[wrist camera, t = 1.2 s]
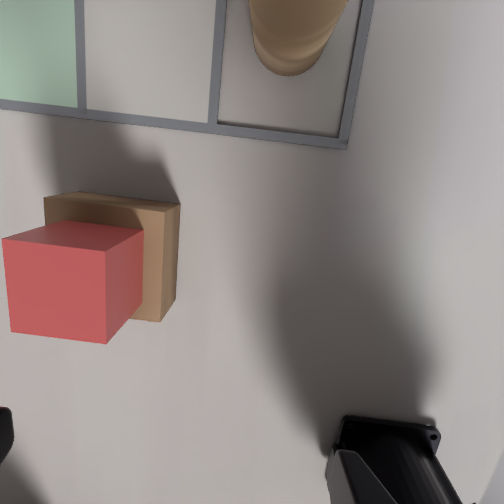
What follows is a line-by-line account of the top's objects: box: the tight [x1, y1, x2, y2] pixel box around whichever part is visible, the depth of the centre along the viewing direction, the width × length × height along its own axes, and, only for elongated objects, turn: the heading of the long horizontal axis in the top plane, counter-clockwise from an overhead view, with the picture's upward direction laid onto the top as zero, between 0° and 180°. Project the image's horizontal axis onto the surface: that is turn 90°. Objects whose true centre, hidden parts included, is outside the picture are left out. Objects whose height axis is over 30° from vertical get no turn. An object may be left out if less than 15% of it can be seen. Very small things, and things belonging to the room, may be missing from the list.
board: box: [0, 0, 374, 149], centre depth 16 cm, size 22×10×1 cm, turn 83°
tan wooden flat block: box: [44, 192, 181, 322], centre depth 18 cm, size 6×6×3 cm
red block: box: [2, 220, 144, 344], centre depth 15 cm, size 4×4×4 cm
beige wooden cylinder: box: [249, 0, 348, 76], centre depth 13 cm, size 4×4×6 cm
